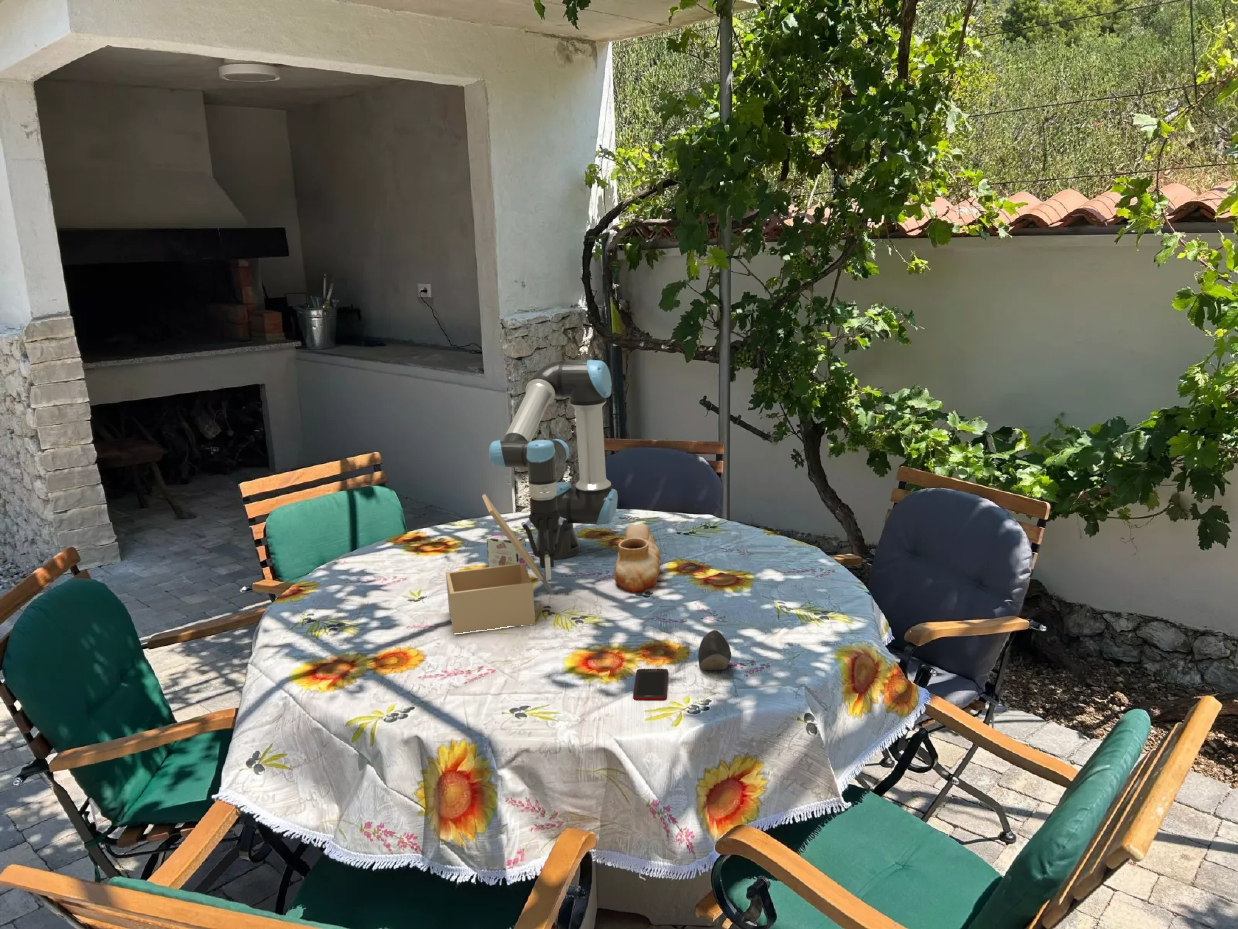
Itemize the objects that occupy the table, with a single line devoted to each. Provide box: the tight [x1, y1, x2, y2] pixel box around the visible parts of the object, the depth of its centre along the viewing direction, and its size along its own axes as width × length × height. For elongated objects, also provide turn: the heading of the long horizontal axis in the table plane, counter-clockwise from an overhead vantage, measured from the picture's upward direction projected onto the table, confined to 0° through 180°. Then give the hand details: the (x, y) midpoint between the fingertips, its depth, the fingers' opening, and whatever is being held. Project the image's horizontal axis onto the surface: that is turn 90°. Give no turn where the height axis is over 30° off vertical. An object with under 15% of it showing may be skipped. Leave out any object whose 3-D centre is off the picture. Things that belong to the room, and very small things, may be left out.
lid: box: [481, 493, 554, 595], centre depth 259 cm, size 31×17×1 cm
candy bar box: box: [486, 533, 528, 571], centre depth 281 cm, size 11×5×16 cm, turn 62°
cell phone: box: [632, 668, 669, 702], centre depth 219 cm, size 8×15×1 cm, turn 175°
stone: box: [697, 629, 732, 671], centre depth 226 cm, size 8×8×10 cm
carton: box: [445, 563, 536, 634], centre depth 260 cm, size 22×17×12 cm
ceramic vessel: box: [613, 523, 662, 594], centre depth 286 cm, size 14×26×15 cm, turn 174°
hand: (547, 578), depth 263 cm, fingers closed
